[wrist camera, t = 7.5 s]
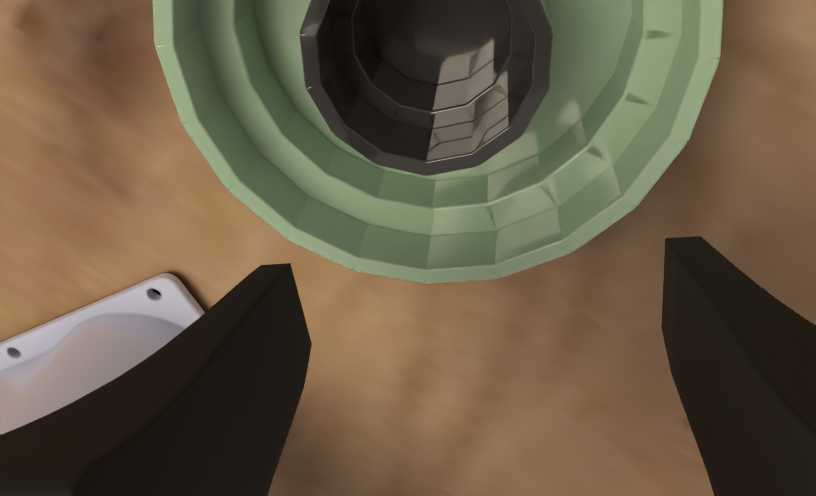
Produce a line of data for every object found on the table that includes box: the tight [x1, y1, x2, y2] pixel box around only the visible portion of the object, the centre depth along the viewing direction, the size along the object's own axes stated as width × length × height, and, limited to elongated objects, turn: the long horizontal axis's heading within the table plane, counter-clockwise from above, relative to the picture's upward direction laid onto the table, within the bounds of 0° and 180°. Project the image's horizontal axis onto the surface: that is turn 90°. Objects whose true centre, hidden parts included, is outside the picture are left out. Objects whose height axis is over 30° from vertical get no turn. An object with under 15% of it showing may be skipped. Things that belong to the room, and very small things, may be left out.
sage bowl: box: [153, 0, 724, 284], centre depth 19 cm, size 13×13×4 cm
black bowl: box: [299, 0, 553, 176], centre depth 19 cm, size 6×6×4 cm
